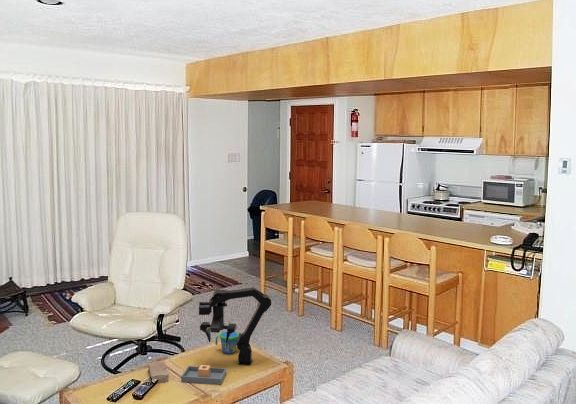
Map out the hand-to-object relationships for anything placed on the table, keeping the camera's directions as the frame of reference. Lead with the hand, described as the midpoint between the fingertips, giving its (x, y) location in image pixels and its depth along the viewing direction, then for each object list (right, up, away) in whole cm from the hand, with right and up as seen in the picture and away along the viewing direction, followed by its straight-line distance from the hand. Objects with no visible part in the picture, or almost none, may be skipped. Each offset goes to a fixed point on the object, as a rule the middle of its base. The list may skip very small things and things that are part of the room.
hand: (218, 342), depth 278 cm
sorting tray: (-5, -14, -15) cm, 21 cm away
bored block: (-5, -13, -15) cm, 21 cm away
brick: (-29, -14, -13) cm, 34 cm away
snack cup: (+4, -10, +18) cm, 21 cm away
